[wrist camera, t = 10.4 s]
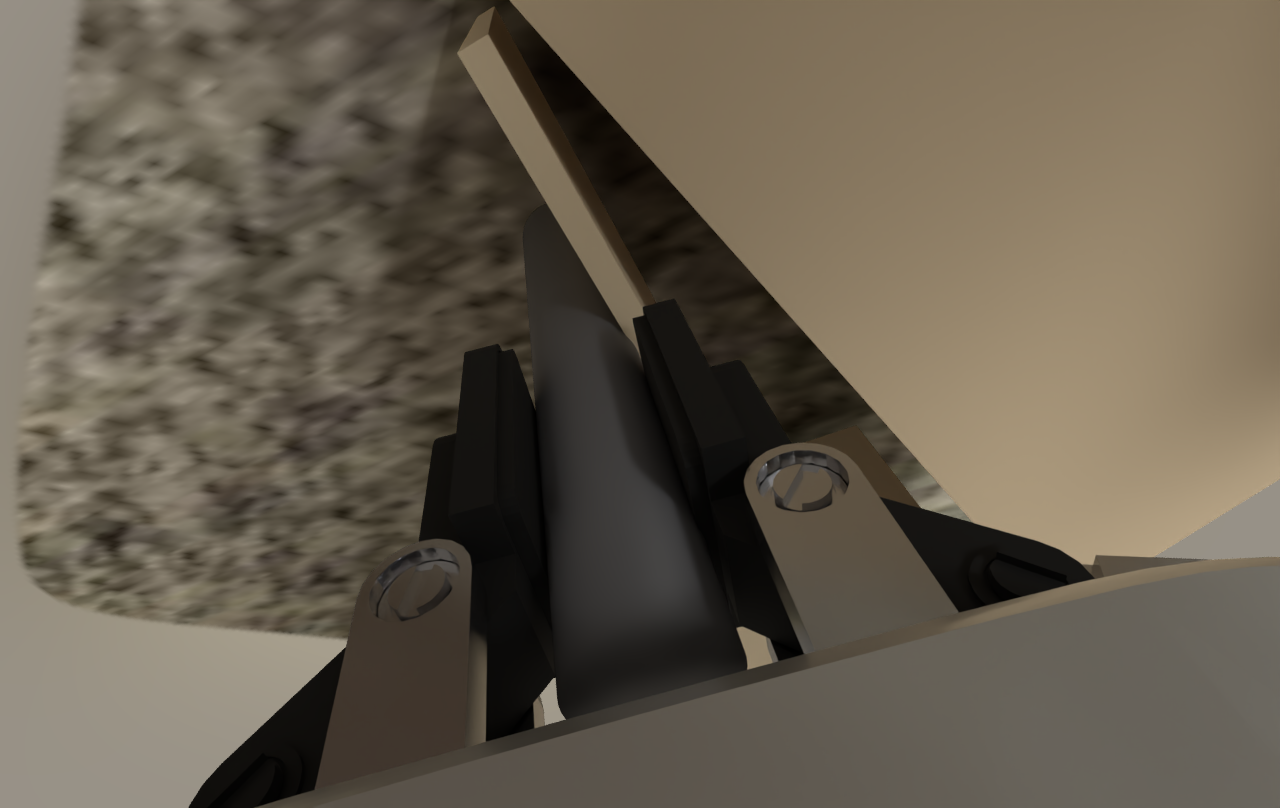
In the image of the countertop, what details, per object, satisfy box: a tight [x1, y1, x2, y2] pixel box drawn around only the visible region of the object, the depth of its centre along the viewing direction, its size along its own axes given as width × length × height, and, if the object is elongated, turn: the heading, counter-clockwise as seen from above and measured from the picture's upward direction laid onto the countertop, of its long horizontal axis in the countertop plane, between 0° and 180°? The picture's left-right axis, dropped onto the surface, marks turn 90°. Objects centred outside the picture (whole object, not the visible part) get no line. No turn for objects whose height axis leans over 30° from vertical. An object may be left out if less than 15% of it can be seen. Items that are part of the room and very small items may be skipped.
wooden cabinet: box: [510, 0, 1280, 565], centre depth 16 cm, size 14×21×10 cm, turn 43°
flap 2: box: [737, 425, 920, 670], centre depth 20 cm, size 2×9×16 cm, turn 106°
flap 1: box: [457, 6, 748, 720], centre depth 13 cm, size 2×9×16 cm, turn 27°
